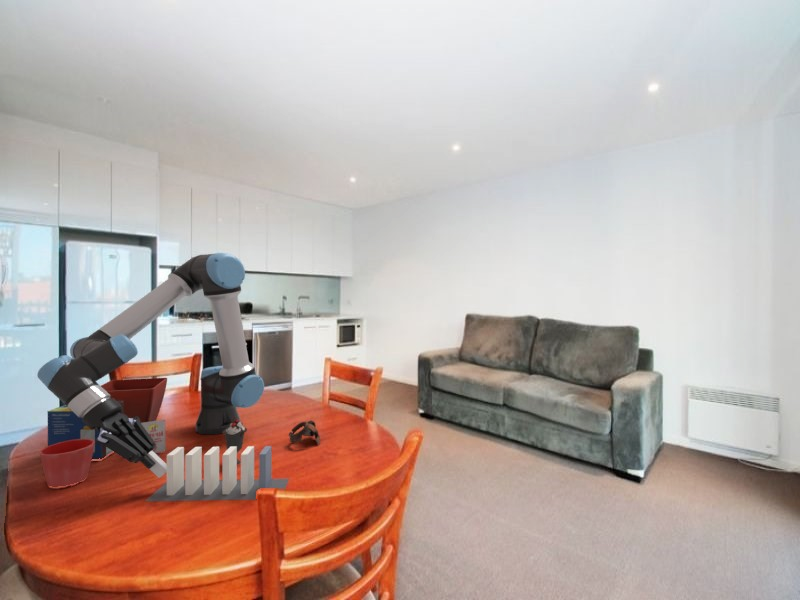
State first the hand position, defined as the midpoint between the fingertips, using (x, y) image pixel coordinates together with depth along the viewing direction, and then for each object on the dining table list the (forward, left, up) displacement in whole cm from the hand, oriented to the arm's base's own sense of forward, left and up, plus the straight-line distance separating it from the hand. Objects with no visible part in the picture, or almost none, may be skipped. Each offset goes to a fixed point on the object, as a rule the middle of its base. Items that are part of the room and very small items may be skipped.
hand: (165, 473), depth 94 cm
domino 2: (0, +7, -4) cm, 8 cm away
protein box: (-23, -37, -5) cm, 44 cm away
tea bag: (-24, -18, -5) cm, 30 cm away
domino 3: (0, +11, -4) cm, 12 cm away
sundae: (-15, +11, -5) cm, 20 cm away
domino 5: (0, +20, -4) cm, 21 cm away
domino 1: (0, +2, -4) cm, 5 cm away
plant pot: (-45, -38, -5) cm, 59 cm away
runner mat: (0, +14, -5) cm, 15 cm away
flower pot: (-6, -29, -5) cm, 30 cm away
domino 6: (0, +25, -4) cm, 25 cm away
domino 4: (0, +16, -4) cm, 17 cm away
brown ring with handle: (-31, +29, -5) cm, 43 cm away
